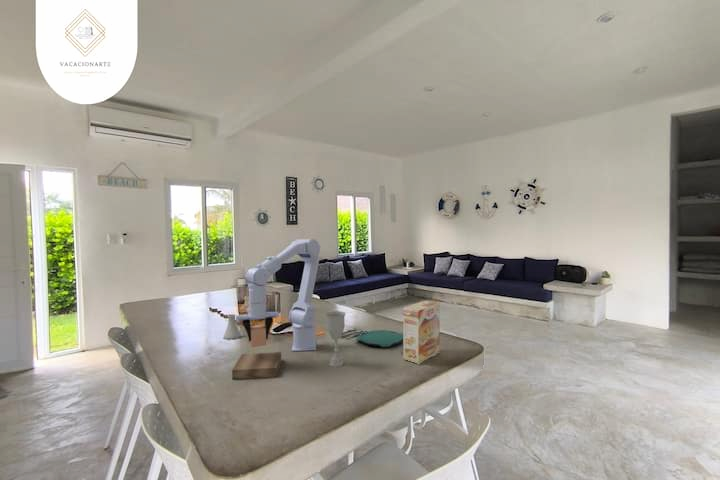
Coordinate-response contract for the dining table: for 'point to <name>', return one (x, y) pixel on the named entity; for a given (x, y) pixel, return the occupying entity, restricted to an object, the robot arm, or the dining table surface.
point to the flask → (232, 328)
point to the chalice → (335, 333)
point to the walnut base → (257, 365)
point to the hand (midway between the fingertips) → (258, 339)
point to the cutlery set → (377, 337)
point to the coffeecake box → (421, 331)
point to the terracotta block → (258, 335)
